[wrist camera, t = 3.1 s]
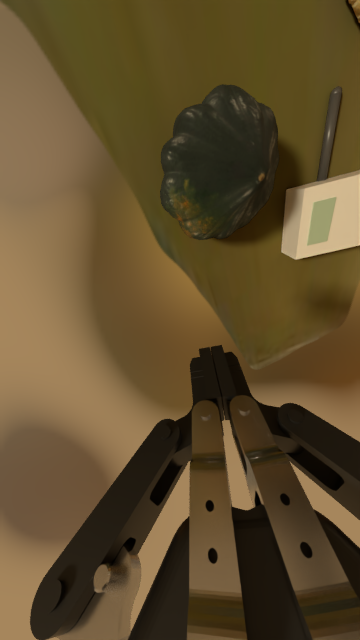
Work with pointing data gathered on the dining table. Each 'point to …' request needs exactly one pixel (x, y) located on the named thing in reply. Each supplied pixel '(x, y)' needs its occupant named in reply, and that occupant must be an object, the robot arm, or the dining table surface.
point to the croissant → (356, 8)
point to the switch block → (323, 204)
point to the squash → (219, 163)
